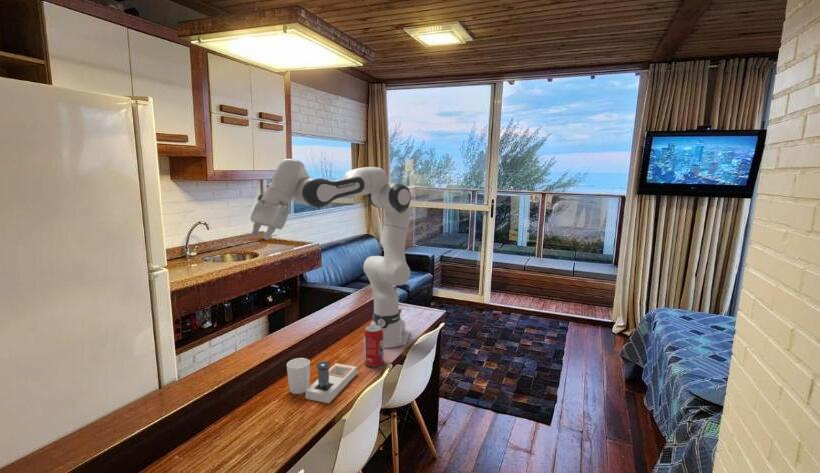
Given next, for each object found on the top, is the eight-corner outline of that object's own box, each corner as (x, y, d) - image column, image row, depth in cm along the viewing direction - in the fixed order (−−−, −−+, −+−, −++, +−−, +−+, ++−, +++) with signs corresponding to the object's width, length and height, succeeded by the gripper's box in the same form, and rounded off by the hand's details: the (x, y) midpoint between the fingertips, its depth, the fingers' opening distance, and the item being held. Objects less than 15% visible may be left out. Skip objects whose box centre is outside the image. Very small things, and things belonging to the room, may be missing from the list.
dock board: (335, 370, 159) (335, 362, 158) (356, 374, 156) (356, 366, 155) (305, 398, 139) (305, 389, 139) (328, 403, 136) (328, 394, 136)
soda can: (360, 363, 165) (359, 328, 162) (374, 356, 170) (374, 322, 168) (373, 369, 160) (372, 333, 157) (387, 363, 165) (387, 327, 163)
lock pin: (321, 389, 145) (320, 360, 143) (332, 392, 143) (332, 362, 142) (315, 396, 141) (314, 366, 139) (326, 398, 139) (325, 368, 137)
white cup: (315, 385, 148) (314, 359, 146) (302, 397, 140) (301, 369, 139) (296, 381, 150) (295, 356, 148) (283, 392, 143) (282, 366, 141)
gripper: (297, 206, 136) (280, 244, 134) (271, 203, 151) (255, 237, 149) (281, 198, 132) (263, 237, 130) (256, 195, 147) (240, 230, 145)
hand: (259, 237), depth 139 cm, fingers open, 8 cm apart
